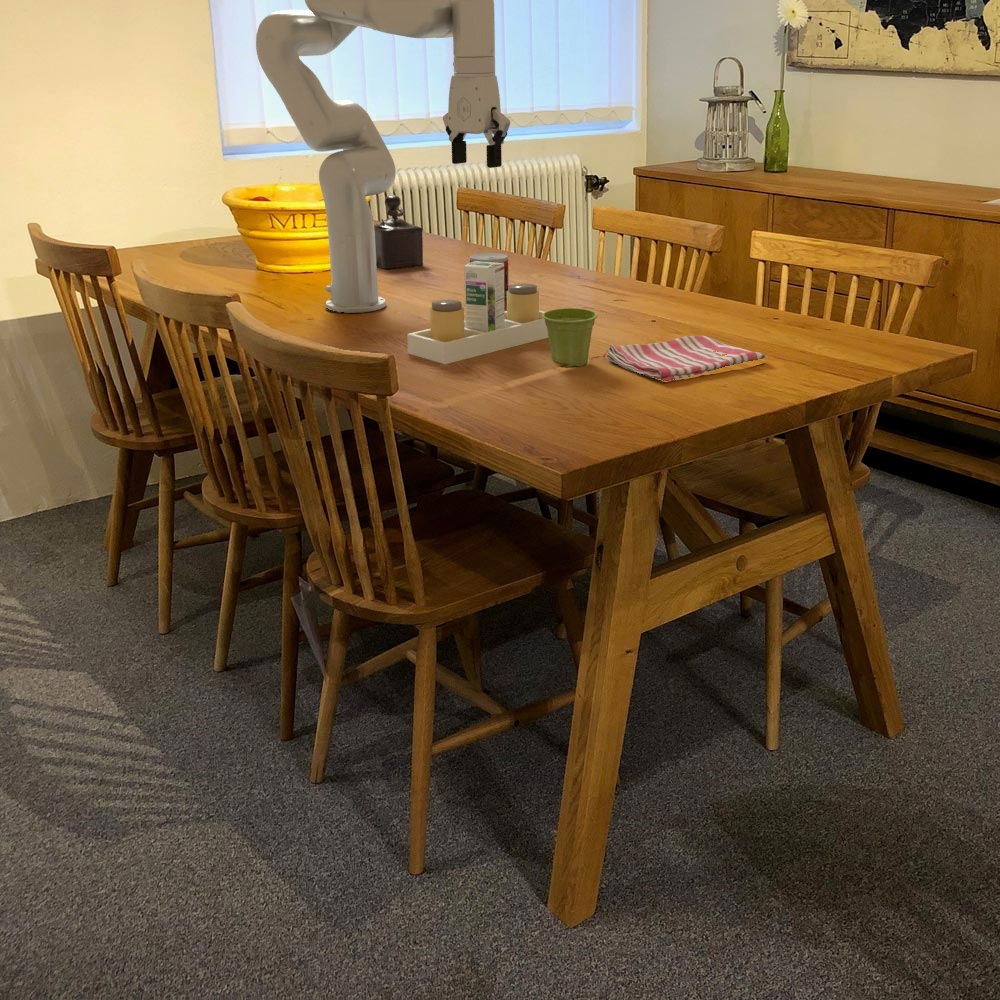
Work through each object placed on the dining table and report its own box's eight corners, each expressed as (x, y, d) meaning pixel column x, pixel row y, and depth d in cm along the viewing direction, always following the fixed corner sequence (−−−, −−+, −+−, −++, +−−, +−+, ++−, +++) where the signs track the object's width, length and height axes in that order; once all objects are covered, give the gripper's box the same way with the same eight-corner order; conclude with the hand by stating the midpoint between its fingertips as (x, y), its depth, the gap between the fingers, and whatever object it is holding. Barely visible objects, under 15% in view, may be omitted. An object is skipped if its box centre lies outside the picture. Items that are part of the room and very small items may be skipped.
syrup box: (464, 345, 208) (462, 265, 203) (477, 337, 213) (475, 259, 208) (493, 348, 206) (492, 267, 201) (506, 340, 211) (505, 261, 206)
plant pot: (580, 373, 194) (581, 323, 190) (532, 366, 198) (532, 316, 195) (605, 360, 201) (607, 311, 198) (558, 353, 206) (559, 305, 202)
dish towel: (602, 363, 201) (603, 344, 200) (708, 345, 211) (709, 327, 210) (660, 387, 187) (661, 367, 186) (770, 367, 197) (772, 347, 196)
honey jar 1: (424, 353, 204) (422, 303, 201) (449, 346, 208) (448, 297, 204) (446, 359, 200) (444, 308, 196) (472, 352, 204) (470, 302, 200)
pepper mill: (366, 263, 286) (362, 189, 279) (407, 259, 291) (404, 185, 284) (391, 274, 273) (387, 196, 266) (433, 269, 278) (430, 193, 271)
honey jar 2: (500, 334, 216) (500, 286, 212) (523, 328, 219) (523, 281, 216) (522, 339, 212) (522, 291, 208) (545, 333, 215) (545, 286, 212)
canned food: (504, 314, 234) (504, 260, 230) (466, 313, 235) (465, 259, 231) (512, 305, 241) (511, 253, 237) (474, 304, 242) (473, 252, 238)
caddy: (408, 357, 204) (407, 333, 203) (523, 328, 222) (523, 306, 221) (445, 368, 198) (444, 344, 196) (561, 338, 216) (561, 315, 214)
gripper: (428, 67, 212) (431, 163, 218) (491, 69, 200) (493, 170, 207) (458, 66, 216) (461, 160, 223) (522, 67, 205) (523, 166, 211)
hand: (476, 165), depth 215 cm, fingers open, 9 cm apart
